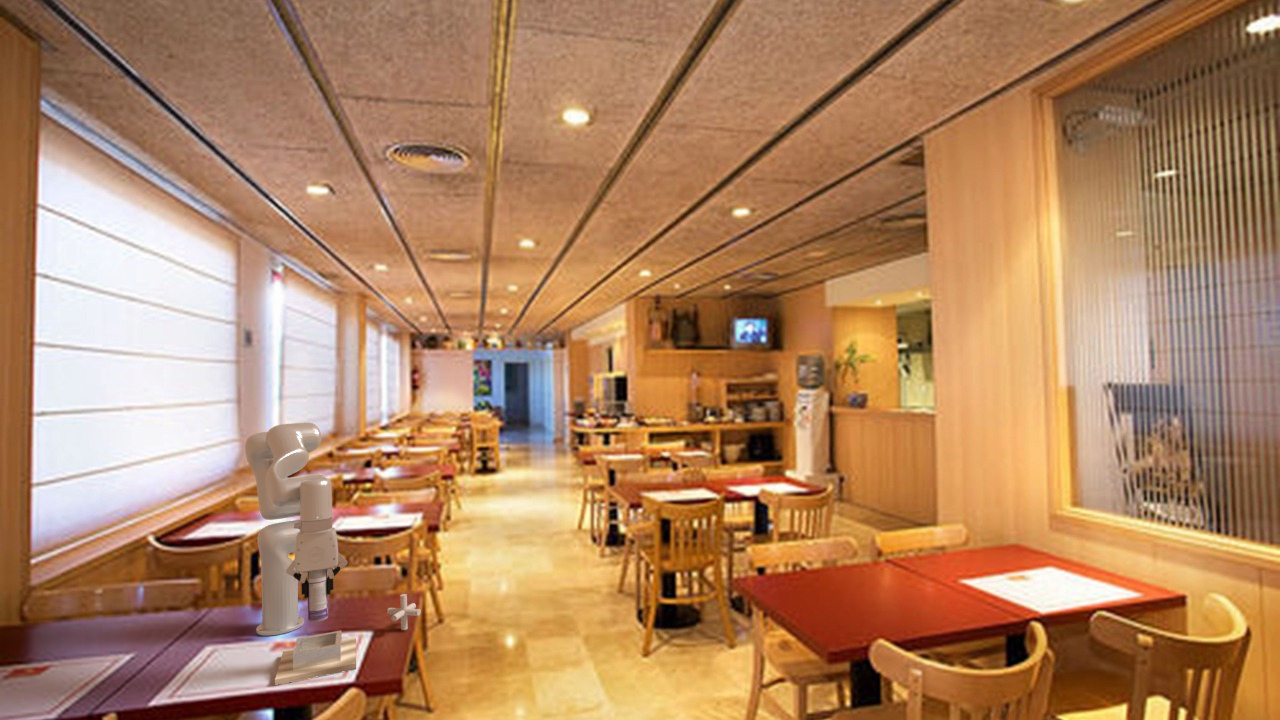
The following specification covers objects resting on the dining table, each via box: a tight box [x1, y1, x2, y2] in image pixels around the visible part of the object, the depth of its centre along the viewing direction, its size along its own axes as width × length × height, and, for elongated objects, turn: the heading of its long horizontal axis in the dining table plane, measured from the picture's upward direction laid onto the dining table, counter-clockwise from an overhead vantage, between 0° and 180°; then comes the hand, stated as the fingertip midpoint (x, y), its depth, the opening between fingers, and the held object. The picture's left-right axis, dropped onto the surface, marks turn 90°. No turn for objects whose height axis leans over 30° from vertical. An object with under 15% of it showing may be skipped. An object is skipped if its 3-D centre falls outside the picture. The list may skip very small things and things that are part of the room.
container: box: [307, 569, 329, 623], centre depth 163 cm, size 5×5×15 cm
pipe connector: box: [386, 593, 422, 631], centre depth 184 cm, size 10×10×10 cm
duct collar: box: [293, 630, 343, 670], centre depth 163 cm, size 11×11×4 cm
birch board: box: [274, 637, 357, 686], centre depth 163 cm, size 18×18×2 cm
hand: (317, 594), depth 163 cm, fingers closed on container, 4 cm apart
